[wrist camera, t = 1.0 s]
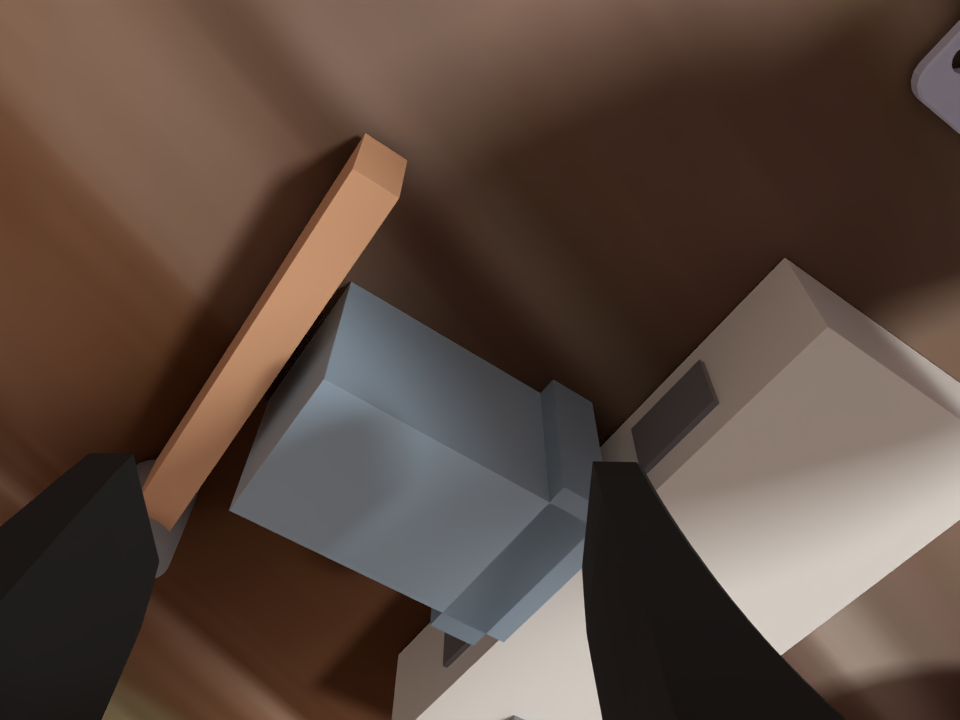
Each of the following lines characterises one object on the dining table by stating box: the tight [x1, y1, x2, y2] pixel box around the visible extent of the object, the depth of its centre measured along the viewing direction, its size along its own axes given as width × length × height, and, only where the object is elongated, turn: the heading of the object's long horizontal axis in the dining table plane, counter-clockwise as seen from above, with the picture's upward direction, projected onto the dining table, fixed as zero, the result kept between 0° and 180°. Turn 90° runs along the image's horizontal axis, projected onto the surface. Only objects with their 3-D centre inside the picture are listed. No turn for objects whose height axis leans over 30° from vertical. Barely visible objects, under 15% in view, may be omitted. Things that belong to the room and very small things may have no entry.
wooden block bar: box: [136, 133, 407, 578], centre depth 20 cm, size 12×2×2 cm, turn 145°
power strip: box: [392, 258, 960, 720], centre depth 23 cm, size 16×6×3 cm, turn 145°
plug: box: [229, 282, 602, 646], centre depth 21 cm, size 5×7×4 cm
